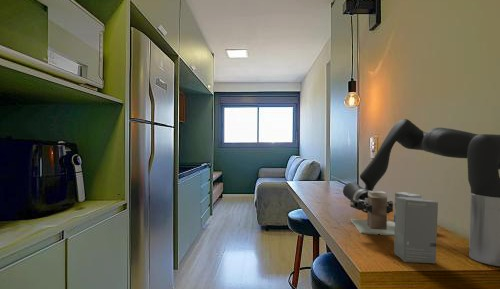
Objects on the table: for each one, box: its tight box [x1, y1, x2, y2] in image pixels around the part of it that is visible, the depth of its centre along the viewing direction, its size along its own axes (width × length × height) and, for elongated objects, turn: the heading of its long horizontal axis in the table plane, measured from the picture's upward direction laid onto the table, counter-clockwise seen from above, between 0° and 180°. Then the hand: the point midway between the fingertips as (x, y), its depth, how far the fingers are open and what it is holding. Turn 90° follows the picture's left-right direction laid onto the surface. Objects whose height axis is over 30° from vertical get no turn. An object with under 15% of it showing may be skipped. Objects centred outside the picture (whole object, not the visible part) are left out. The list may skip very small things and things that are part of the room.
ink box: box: [393, 191, 422, 223], centre depth 116 cm, size 8×5×12 cm, turn 17°
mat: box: [349, 218, 395, 237], centre depth 109 cm, size 16×18×1 cm
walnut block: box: [366, 190, 388, 230], centre depth 94 cm, size 4×4×11 cm
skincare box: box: [393, 197, 439, 264], centre depth 79 cm, size 8×7×16 cm
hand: (379, 209), depth 91 cm, fingers closed on walnut block, 4 cm apart
